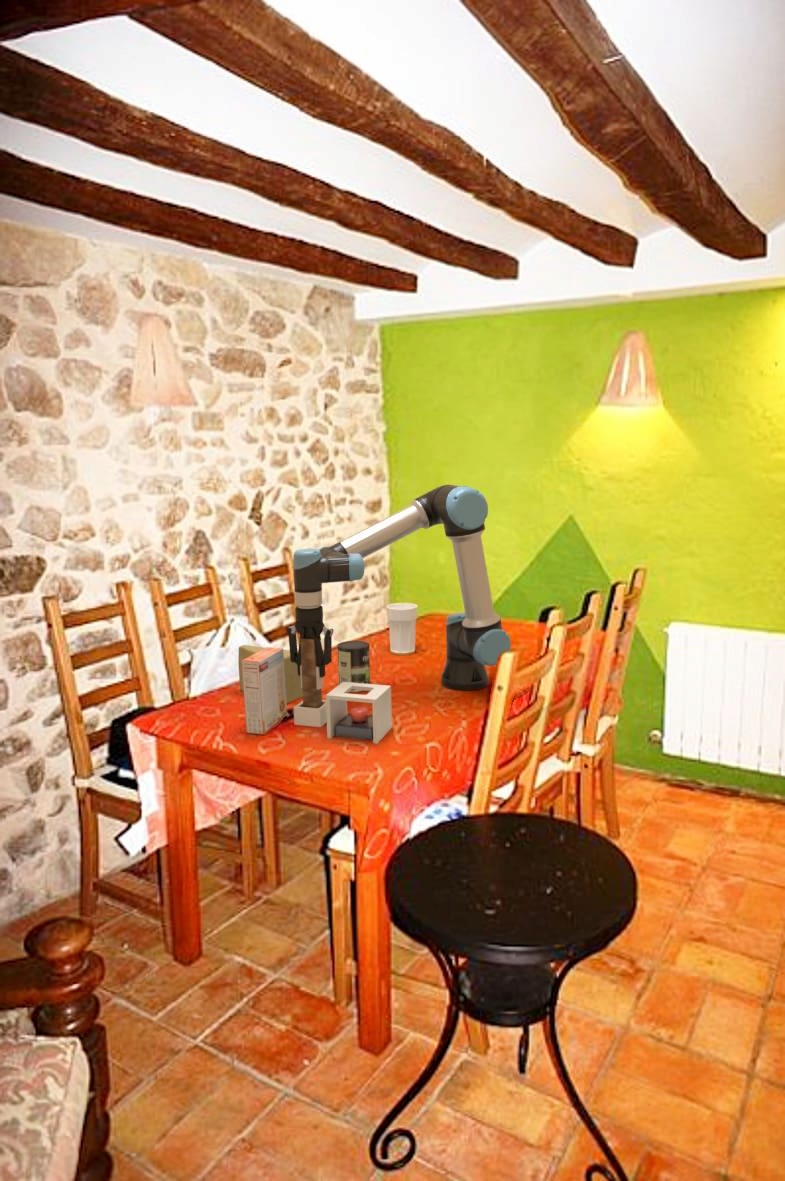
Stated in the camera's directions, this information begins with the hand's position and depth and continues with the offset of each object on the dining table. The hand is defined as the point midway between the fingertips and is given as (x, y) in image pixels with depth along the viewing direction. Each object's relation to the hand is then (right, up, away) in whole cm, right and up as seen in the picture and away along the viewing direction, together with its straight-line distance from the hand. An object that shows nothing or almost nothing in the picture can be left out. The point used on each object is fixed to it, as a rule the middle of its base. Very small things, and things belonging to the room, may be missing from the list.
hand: (312, 687), depth 225 cm
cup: (+26, +4, +72) cm, 77 cm away
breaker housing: (+14, -11, -8) cm, 19 cm away
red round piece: (+14, -11, -8) cm, 19 cm away
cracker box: (-13, -11, -1) cm, 17 cm away
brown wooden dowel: (0, -8, +1) cm, 8 cm away
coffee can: (+10, -4, +32) cm, 34 cm away
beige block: (-17, -6, +25) cm, 31 cm away
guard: (+14, -11, -8) cm, 19 cm away
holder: (0, -10, +2) cm, 10 cm away
